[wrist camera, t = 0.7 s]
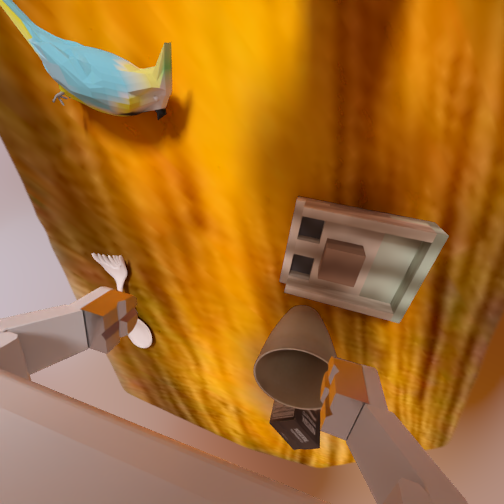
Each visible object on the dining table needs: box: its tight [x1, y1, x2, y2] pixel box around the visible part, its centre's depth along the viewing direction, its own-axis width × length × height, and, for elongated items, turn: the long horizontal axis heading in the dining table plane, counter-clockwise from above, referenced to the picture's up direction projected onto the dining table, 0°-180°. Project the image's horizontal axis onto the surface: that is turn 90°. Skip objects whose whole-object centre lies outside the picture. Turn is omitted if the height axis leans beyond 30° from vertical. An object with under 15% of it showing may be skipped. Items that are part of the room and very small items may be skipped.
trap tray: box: [279, 196, 449, 323], centre depth 43 cm, size 17×22×6 cm
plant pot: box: [254, 305, 337, 410], centre depth 48 cm, size 15×15×16 cm
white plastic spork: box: [92, 253, 152, 348], centre depth 68 cm, size 9×32×4 cm, turn 4°
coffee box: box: [270, 400, 321, 449], centre depth 55 cm, size 9×6×16 cm
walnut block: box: [318, 238, 366, 287], centre depth 42 cm, size 6×6×4 cm
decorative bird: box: [0, 0, 172, 120], centre depth 39 cm, size 14×30×9 cm, turn 71°
